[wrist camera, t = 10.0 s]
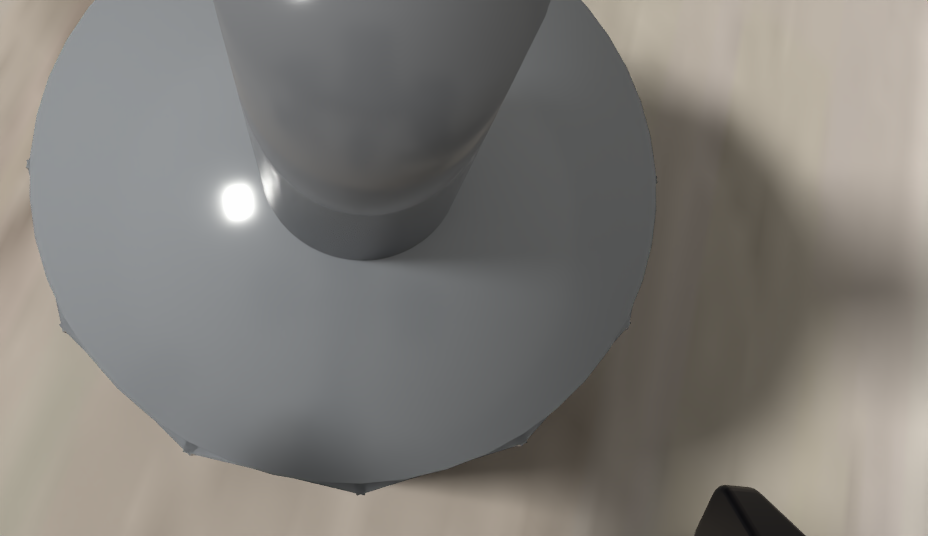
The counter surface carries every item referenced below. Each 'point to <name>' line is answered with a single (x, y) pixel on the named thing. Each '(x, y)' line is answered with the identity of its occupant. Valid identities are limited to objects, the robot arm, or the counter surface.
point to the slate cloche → (343, 222)
